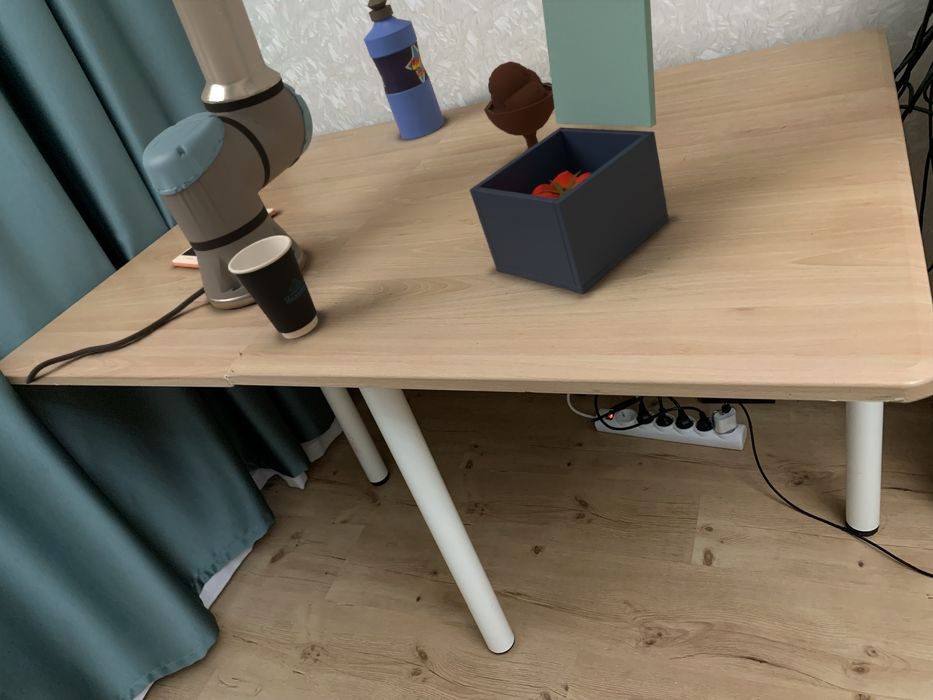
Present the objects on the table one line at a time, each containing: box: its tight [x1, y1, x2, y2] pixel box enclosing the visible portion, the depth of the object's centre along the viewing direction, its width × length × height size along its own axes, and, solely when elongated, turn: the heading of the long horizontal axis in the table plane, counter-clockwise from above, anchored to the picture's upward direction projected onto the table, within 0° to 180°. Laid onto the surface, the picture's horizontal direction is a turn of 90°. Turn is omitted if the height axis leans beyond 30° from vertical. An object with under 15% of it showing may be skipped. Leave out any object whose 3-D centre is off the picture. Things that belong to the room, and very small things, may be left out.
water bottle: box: [363, 0, 445, 140], centre depth 131 cm, size 9×9×25 cm
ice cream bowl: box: [483, 61, 555, 151], centre depth 103 cm, size 11×11×15 cm
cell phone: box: [171, 208, 277, 269], centre depth 122 cm, size 9×18×1 cm, turn 146°
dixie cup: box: [228, 235, 319, 340], centre depth 85 cm, size 8×8×11 cm
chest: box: [469, 126, 670, 295], centre depth 79 cm, size 16×14×11 cm
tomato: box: [532, 171, 591, 199], centre depth 79 cm, size 9×9×8 cm
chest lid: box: [541, 0, 657, 128], centre depth 75 cm, size 17×14×1 cm
